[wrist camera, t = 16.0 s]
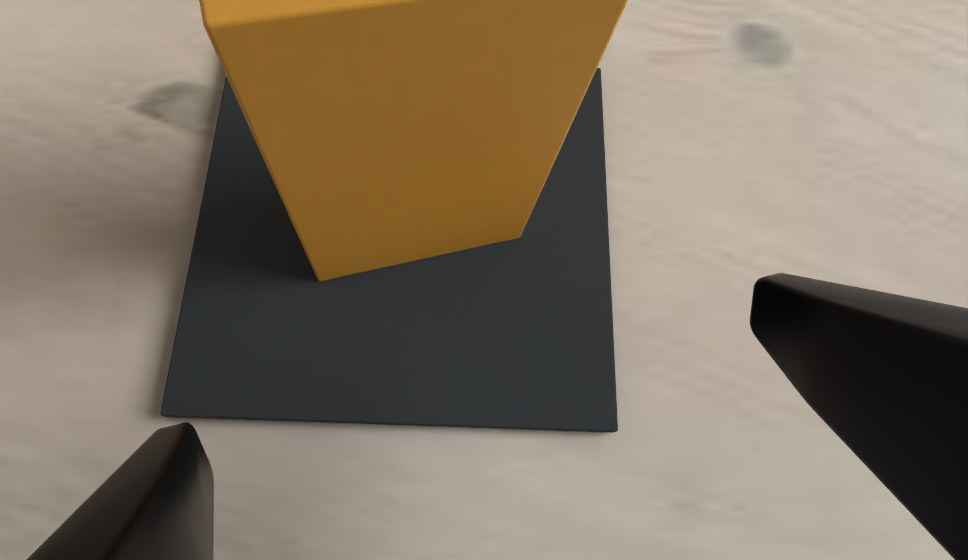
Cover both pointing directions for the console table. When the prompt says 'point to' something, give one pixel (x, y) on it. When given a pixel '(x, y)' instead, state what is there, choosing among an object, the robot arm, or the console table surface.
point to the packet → (408, 114)
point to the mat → (399, 310)
